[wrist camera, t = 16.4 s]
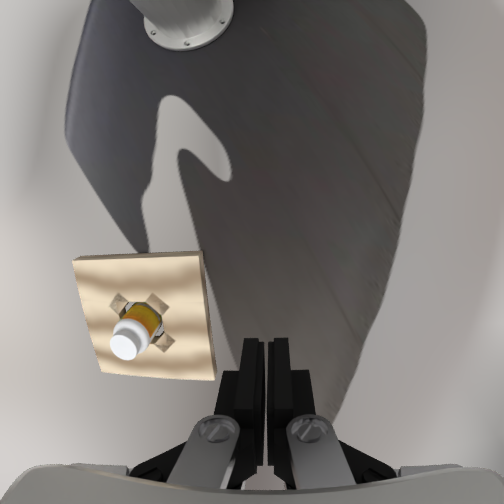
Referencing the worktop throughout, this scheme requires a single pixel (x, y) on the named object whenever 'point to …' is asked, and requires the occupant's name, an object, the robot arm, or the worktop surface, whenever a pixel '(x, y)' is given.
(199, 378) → the plate
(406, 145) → the worktop surface
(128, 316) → the supplement bottle
